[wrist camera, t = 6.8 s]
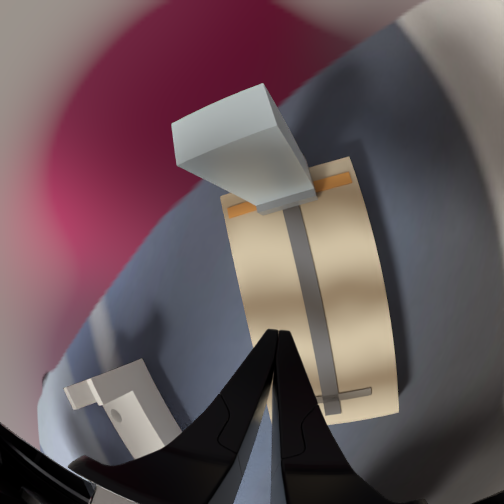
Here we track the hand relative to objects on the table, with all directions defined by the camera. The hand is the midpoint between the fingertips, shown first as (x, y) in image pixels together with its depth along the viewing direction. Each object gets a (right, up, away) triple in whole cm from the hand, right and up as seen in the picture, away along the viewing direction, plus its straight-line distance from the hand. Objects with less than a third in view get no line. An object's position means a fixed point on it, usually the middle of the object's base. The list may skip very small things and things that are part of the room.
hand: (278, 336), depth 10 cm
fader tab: (+1, +8, +9) cm, 12 cm away
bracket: (-12, -15, +16) cm, 26 cm away
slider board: (+4, -1, +10) cm, 11 cm away
